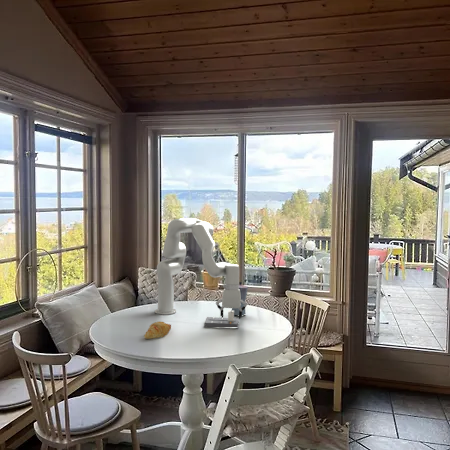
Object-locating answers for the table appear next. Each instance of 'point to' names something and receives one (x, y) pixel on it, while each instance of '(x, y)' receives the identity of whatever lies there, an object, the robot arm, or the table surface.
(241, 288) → the moka pot
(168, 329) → the croissant
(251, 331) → the table surface
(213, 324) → the fader console
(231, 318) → the fader knob
